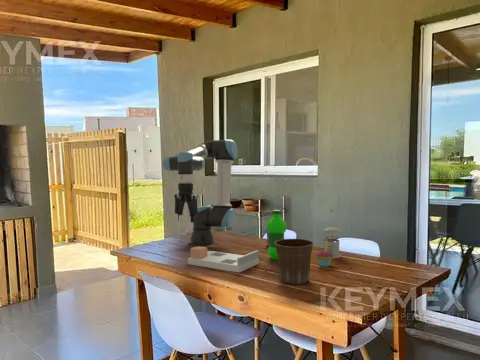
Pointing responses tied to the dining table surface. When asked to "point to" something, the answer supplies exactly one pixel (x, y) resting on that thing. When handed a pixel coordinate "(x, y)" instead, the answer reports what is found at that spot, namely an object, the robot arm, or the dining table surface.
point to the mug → (267, 237)
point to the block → (199, 252)
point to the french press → (332, 241)
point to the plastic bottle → (275, 232)
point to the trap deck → (227, 261)
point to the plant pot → (294, 260)
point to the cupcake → (324, 257)
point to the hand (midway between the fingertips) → (186, 228)
